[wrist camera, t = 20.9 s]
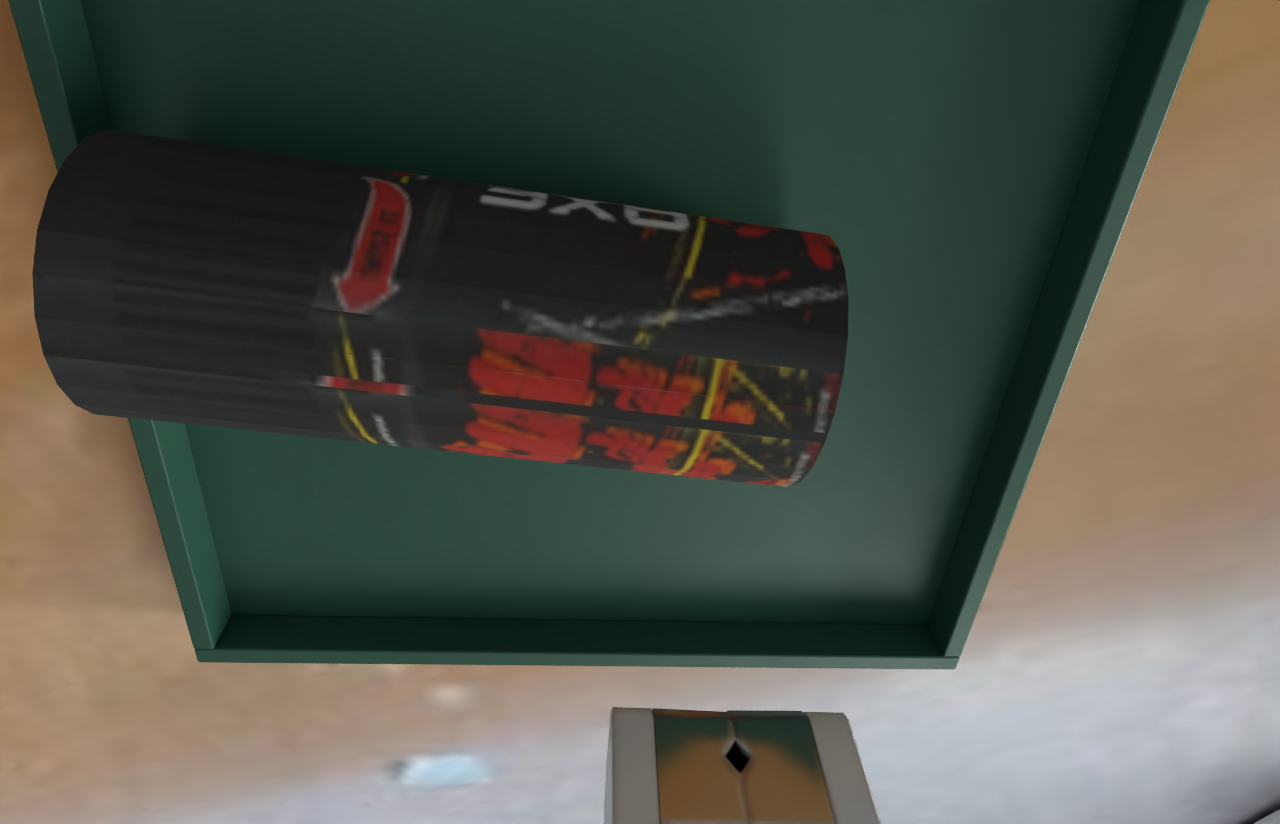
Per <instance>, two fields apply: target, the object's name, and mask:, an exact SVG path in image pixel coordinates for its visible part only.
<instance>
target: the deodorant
mask: <svg viewBox="0 0 1280 824" xmlns="http://www.w3.org/2000/svg"><path fill="white" fill-rule="evenodd" d="M33 292H34V311H35V320H36V324H37V328H38V333H39V337H40V342H41V346H42V350H43V355H44V357H45V359H46V361H47V363H48V365H49V368H50V370H51V372H52V374H53V376H54V378H55V380H56V382H57V385H58V386H59V387H60V388H61V389H62V390H63V392H64V393H65V394H66V395H67V396H68V397H69V399H70V400H71V401H72V402H73V403H74V404H75V405H77V406H79V407H81V408H83V409H85V410H87V411H89V412H91V413H93V414H99V415H108V416H118V417H127V418H137V419H146V420H156V421H165V422H175V423H184V424H194V425H203V426H213V427H222V428H232V429H241V430H251V431H260V432H270V433H279V434H289V435H298V436H308V437H317V438H327V439H336V440H346V441H355V442H365V443H374V444H383V445H393V446H402V447H412V448H421V449H431V450H440V451H450V452H459V453H469V454H478V455H488V456H497V457H507V458H516V459H526V460H535V461H545V462H554V463H564V464H573V465H583V466H592V467H602V468H611V469H621V470H630V471H640V472H649V473H659V474H668V475H678V476H687V477H697V478H706V479H716V480H725V481H735V482H744V483H754V484H763V485H773V486H782V487H791V486H793V485H795V484H797V483H800V482H801V481H802V480H803V479H804V478H805V476H806V475H807V474H808V473H809V471H810V470H811V469H812V468H813V466H814V464H815V462H816V460H817V458H818V456H819V454H820V452H821V450H822V448H823V446H824V444H825V441H826V438H827V435H828V432H829V429H830V426H831V423H832V420H833V417H834V414H835V411H836V407H837V402H838V397H839V393H840V388H841V384H842V379H843V374H844V366H845V357H846V348H847V340H848V302H849V299H848V290H847V282H846V273H845V267H844V264H843V261H842V257H841V254H840V251H839V248H838V246H837V245H836V244H835V242H834V241H833V240H832V238H831V237H830V236H828V235H824V234H819V233H813V232H806V231H799V230H792V229H786V228H779V227H772V226H765V225H758V224H752V223H745V222H738V221H731V220H724V219H718V218H711V217H704V216H697V215H690V214H684V213H677V212H670V211H663V210H656V209H650V208H643V207H636V206H629V205H623V204H616V203H609V202H602V201H595V200H589V199H582V198H575V197H568V196H561V195H555V194H548V193H541V192H534V191H527V190H521V189H514V188H507V187H500V186H493V185H487V184H480V183H473V182H466V181H459V180H453V179H446V178H439V177H432V176H426V175H419V174H412V173H405V172H398V171H392V170H385V169H378V168H371V167H364V166H358V165H351V164H344V163H337V162H330V161H324V160H317V159H310V158H303V157H296V156H290V155H283V154H276V153H269V152H263V151H256V150H249V149H242V148H235V147H229V146H222V145H215V144H208V143H201V142H195V141H188V140H181V139H174V138H167V137H161V136H154V135H147V134H140V133H133V132H127V131H117V130H107V129H105V130H103V131H101V132H98V133H96V134H94V135H92V136H89V137H87V138H85V139H84V140H83V141H82V142H81V143H80V144H79V145H78V146H77V147H76V148H75V149H74V150H73V151H72V152H71V154H70V155H69V156H68V157H67V158H66V159H65V161H64V163H63V164H62V166H61V168H60V170H59V172H58V174H57V176H56V177H55V179H54V181H53V183H52V185H51V187H50V189H49V191H48V195H47V198H46V201H45V205H44V208H43V212H42V215H41V219H40V222H39V226H38V229H37V238H36V246H35V255H34V264H33Z"/></svg>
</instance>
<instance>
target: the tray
mask: <svg viewBox="0 0 1280 824" xmlns="http://www.w3.org/2000/svg"><path fill="white" fill-rule="evenodd" d="M1209 2H1210V0H9V3H10V7H11V10H12V14H13V17H14V21H15V24H16V28H17V31H18V35H19V38H20V42H21V45H22V49H23V52H24V56H25V59H26V63H27V66H28V70H29V73H30V77H31V80H32V84H33V87H34V91H35V94H36V98H37V101H38V105H39V108H40V112H41V115H42V119H43V122H44V126H45V129H46V133H47V136H48V140H49V143H50V147H51V150H52V154H53V157H54V161H55V164H56V168H57V171H58V172H59V170H60V168H61V166H62V164H63V163H64V161H65V159H66V158H67V157H68V156H69V155H70V154H71V152H72V151H73V150H74V149H75V148H76V147H77V146H78V145H79V144H80V143H81V142H82V141H83V140H84V139H85V138H87V137H89V136H92V135H94V134H96V133H98V132H101V131H103V130H105V129H107V130H117V131H127V132H133V133H140V134H147V135H154V136H161V137H167V138H174V139H181V140H188V141H195V142H201V143H208V144H215V145H222V146H229V147H235V148H242V149H249V150H256V151H263V152H269V153H276V154H283V155H290V156H296V157H303V158H310V159H317V160H324V161H330V162H337V163H344V164H351V165H358V166H364V167H371V168H378V169H385V170H392V171H398V172H405V173H412V174H419V175H426V176H432V177H439V178H446V179H453V180H459V181H466V182H473V183H480V184H487V185H493V186H500V187H507V188H514V189H521V190H527V191H534V192H541V193H548V194H555V195H561V196H568V197H575V198H582V199H589V200H595V201H602V202H609V203H616V204H623V205H629V206H636V207H643V208H650V209H656V210H663V211H670V212H677V213H684V214H690V215H697V216H704V217H711V218H718V219H724V220H731V221H738V222H745V223H752V224H758V225H765V226H772V227H779V228H786V229H792V230H799V231H806V232H813V233H819V234H824V235H828V236H830V237H831V238H832V240H833V241H834V242H835V244H836V245H837V246H838V248H839V251H840V254H841V257H842V261H843V264H844V267H845V273H846V282H847V290H848V299H849V302H848V340H847V348H846V357H845V366H844V374H843V379H842V384H841V388H840V393H839V397H838V402H837V407H836V411H835V414H834V417H833V420H832V423H831V426H830V429H829V432H828V435H827V438H826V441H825V444H824V446H823V448H822V450H821V452H820V454H819V456H818V458H817V460H816V462H815V464H814V466H813V468H812V469H811V470H810V471H809V473H808V474H807V475H806V476H805V478H804V479H803V480H802V481H801V482H800V483H797V484H795V485H793V486H791V487H782V486H773V485H763V484H754V483H744V482H735V481H725V480H716V479H706V478H697V477H687V476H678V475H668V474H659V473H649V472H640V471H630V470H621V469H611V468H602V467H592V466H583V465H573V464H564V463H554V462H545V461H535V460H526V459H516V458H507V457H497V456H488V455H478V454H469V453H459V452H450V451H440V450H431V449H421V448H412V447H402V446H393V445H383V444H374V443H365V442H355V441H346V440H336V439H327V438H317V437H308V436H298V435H289V434H279V433H270V432H260V431H251V430H241V429H232V428H222V427H213V426H203V425H194V424H184V423H175V422H165V421H156V420H146V419H137V418H128V419H129V423H130V426H131V430H132V433H133V437H134V440H135V444H136V447H137V451H138V454H139V458H140V461H141V465H142V468H143V472H144V475H145V479H146V482H147V486H148V489H149V493H150V496H151V500H152V503H153V507H154V510H155V514H156V517H157V521H158V524H159V528H160V531H161V535H162V538H163V542H164V545H165V549H166V552H167V556H168V559H169V563H170V566H171V570H172V573H173V577H174V580H175V584H176V587H177V591H178V594H179V598H180V601H181V605H182V608H183V612H184V615H185V619H186V622H187V626H188V629H189V632H190V636H191V639H192V643H193V646H194V648H195V652H196V656H197V659H198V661H199V662H236V663H343V664H450V665H556V666H663V667H770V668H876V669H955V668H956V666H957V663H958V661H959V656H960V655H961V653H962V650H963V648H964V645H965V642H966V640H967V637H968V634H969V632H970V629H971V627H972V624H973V621H974V619H975V616H976V613H977V611H978V608H979V606H980V603H981V600H982V598H983V595H984V592H985V590H986V587H987V585H988V582H989V579H990V577H991V574H992V572H993V569H994V566H995V564H996V561H997V558H998V556H999V553H1000V551H1001V548H1002V545H1003V543H1004V540H1005V537H1006V535H1007V532H1008V530H1009V527H1010V524H1011V522H1012V519H1013V516H1014V514H1015V511H1016V509H1017V506H1018V503H1019V501H1020V498H1021V495H1022V493H1023V490H1024V488H1025V485H1026V482H1027V480H1028V477H1029V474H1030V472H1031V469H1032V467H1033V464H1034V461H1035V459H1036V456H1037V453H1038V451H1039V448H1040V446H1041V443H1042V440H1043V438H1044V435H1045V432H1046V430H1047V427H1048V425H1049V422H1050V419H1051V417H1052V414H1053V411H1054V409H1055V406H1056V404H1057V401H1058V398H1059V396H1060V393H1061V391H1062V388H1063V385H1064V383H1065V380H1066V377H1067V375H1068V372H1069V370H1070V367H1071V364H1072V362H1073V359H1074V356H1075V354H1076V351H1077V349H1078V346H1079V343H1080V341H1081V338H1082V335H1083V333H1084V330H1085V328H1086V325H1087V322H1088V320H1089V317H1090V314H1091V312H1092V309H1093V307H1094V304H1095V301H1096V299H1097V296H1098V293H1099V291H1100V288H1101V286H1102V283H1103V280H1104V278H1105V275H1106V272H1107V270H1108V267H1109V265H1110V262H1111V259H1112V257H1113V254H1114V251H1115V249H1116V246H1117V244H1118V241H1119V238H1120V236H1121V233H1122V230H1123V228H1124V225H1125V223H1126V220H1127V217H1128V215H1129V212H1130V209H1131V207H1132V204H1133V202H1134V199H1135V196H1136V194H1137V191H1138V189H1139V186H1140V183H1141V181H1142V178H1143V175H1144V173H1145V170H1146V168H1147V165H1148V162H1149V160H1150V157H1151V154H1152V152H1153V149H1154V147H1155V144H1156V141H1157V139H1158V136H1159V133H1160V131H1161V128H1162V126H1163V123H1164V120H1165V118H1166V115H1167V112H1168V110H1169V107H1170V105H1171V102H1172V99H1173V97H1174V94H1175V91H1176V89H1177V86H1178V84H1179V81H1180V78H1181V76H1182V73H1183V70H1184V68H1185V65H1186V63H1187V60H1188V57H1189V55H1190V52H1191V49H1192V47H1193V44H1194V42H1195V39H1196V36H1197V34H1198V31H1199V28H1200V26H1201V23H1202V21H1203V18H1204V15H1205V13H1206V10H1207V7H1208V5H1209Z"/></svg>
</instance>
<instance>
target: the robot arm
mask: <svg viewBox="0 0 1280 824" xmlns="http://www.w3.org/2000/svg"><path fill="white" fill-rule="evenodd" d="M604 824H881V821H880V818H879V815H878V811H877V808H876V805H875V802H874V799H873V795H872V792H871V789H870V786H869V783H868V779H867V776H866V773H865V770H864V767H863V763H862V760H861V757H860V754H859V751H858V747H857V744H856V741H855V738H854V735H853V732H852V728H851V725H850V722H849V720H848V718H847V717H846V716H845V715H844V713H828V712H804V713H803V712H802V711H727V712H715V711H694V710H673V709H652V710H651V709H648V708H618V707H613V708H612V710H611V717H610V729H609V740H608V752H607V764H606V783H605V802H604ZM1253 824H1280V809H1279V810H1277V811H1275V812H1273V813H1272V814H1270V815H1268V816H1266V817H1264V818H1262V819H1261V820H1259V821H1257V822H1255V823H1253Z"/></svg>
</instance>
